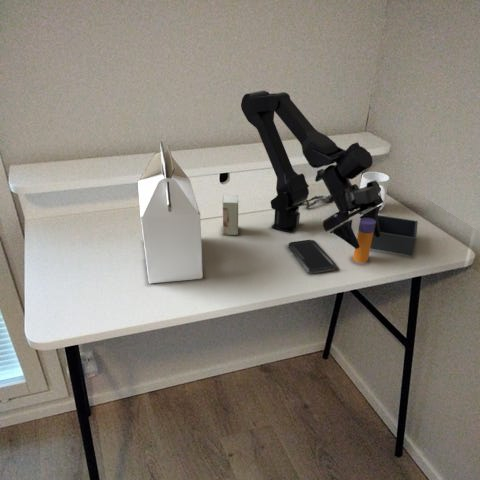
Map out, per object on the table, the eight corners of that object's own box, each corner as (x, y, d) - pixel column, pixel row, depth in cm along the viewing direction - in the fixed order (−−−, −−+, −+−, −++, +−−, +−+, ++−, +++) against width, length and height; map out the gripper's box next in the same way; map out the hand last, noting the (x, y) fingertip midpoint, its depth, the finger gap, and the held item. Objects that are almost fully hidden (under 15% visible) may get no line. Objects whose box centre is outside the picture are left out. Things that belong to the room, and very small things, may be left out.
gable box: (203, 279, 115) (198, 167, 98) (148, 284, 113) (134, 170, 95) (192, 237, 132) (187, 135, 115) (145, 241, 130) (132, 138, 113)
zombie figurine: (300, 183, 147) (337, 176, 154) (298, 204, 151) (334, 196, 158) (311, 189, 144) (348, 181, 150) (308, 210, 148) (345, 201, 154)
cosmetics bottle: (223, 226, 137) (223, 194, 131) (238, 227, 137) (238, 194, 131) (222, 235, 133) (222, 201, 127) (237, 235, 133) (238, 202, 127)
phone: (313, 239, 130) (337, 266, 119) (312, 242, 131) (336, 269, 119) (286, 242, 128) (308, 270, 117) (286, 246, 129) (308, 274, 117)
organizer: (365, 249, 128) (369, 231, 125) (369, 231, 137) (373, 214, 133) (411, 257, 125) (416, 238, 122) (412, 238, 134) (417, 220, 130)
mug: (392, 217, 145) (400, 185, 138) (368, 219, 143) (374, 187, 137) (375, 201, 154) (382, 170, 148) (352, 203, 152) (357, 172, 146)
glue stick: (349, 259, 124) (356, 219, 117) (359, 255, 126) (367, 216, 119) (360, 265, 121) (368, 225, 114) (370, 261, 123) (379, 221, 116)
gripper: (339, 181, 107) (370, 242, 107) (384, 163, 117) (413, 218, 117) (309, 203, 116) (338, 258, 116) (353, 184, 126) (380, 235, 127)
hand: (368, 242), depth 119 cm, fingers open, 9 cm apart
